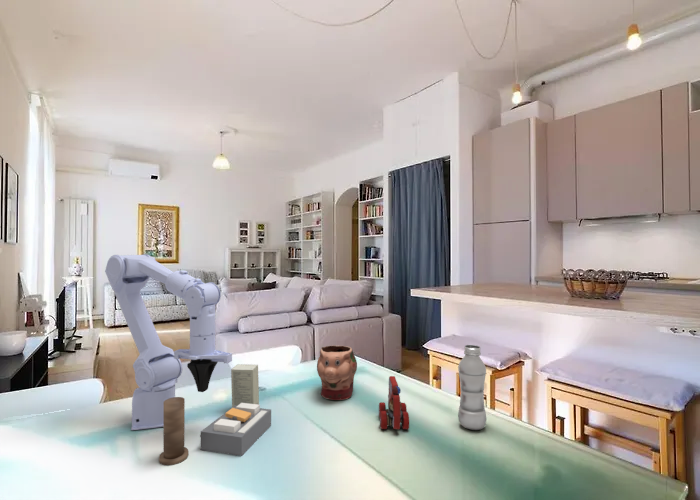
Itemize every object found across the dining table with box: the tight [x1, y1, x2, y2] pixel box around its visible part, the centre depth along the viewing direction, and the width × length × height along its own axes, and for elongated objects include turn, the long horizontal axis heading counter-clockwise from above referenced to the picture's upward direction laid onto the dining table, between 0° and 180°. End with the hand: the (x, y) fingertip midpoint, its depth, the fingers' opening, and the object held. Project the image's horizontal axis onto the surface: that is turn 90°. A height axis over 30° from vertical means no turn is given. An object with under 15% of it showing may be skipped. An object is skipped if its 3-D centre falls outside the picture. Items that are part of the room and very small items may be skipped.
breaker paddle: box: [225, 407, 251, 422], centre depth 87 cm, size 5×3×2 cm, turn 76°
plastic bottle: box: [457, 344, 487, 431], centre depth 92 cm, size 6×7×20 cm
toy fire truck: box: [378, 375, 410, 430], centre depth 94 cm, size 7×12×10 cm, turn 179°
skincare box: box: [230, 363, 260, 408], centre depth 100 cm, size 6×4×12 cm
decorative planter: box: [316, 344, 358, 401], centre depth 113 cm, size 20×12×14 cm, turn 178°
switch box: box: [200, 403, 272, 457], centre depth 87 cm, size 10×14×5 cm
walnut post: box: [158, 396, 190, 466], centre depth 78 cm, size 6×6×12 cm
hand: (202, 390), depth 89 cm, fingers closed
